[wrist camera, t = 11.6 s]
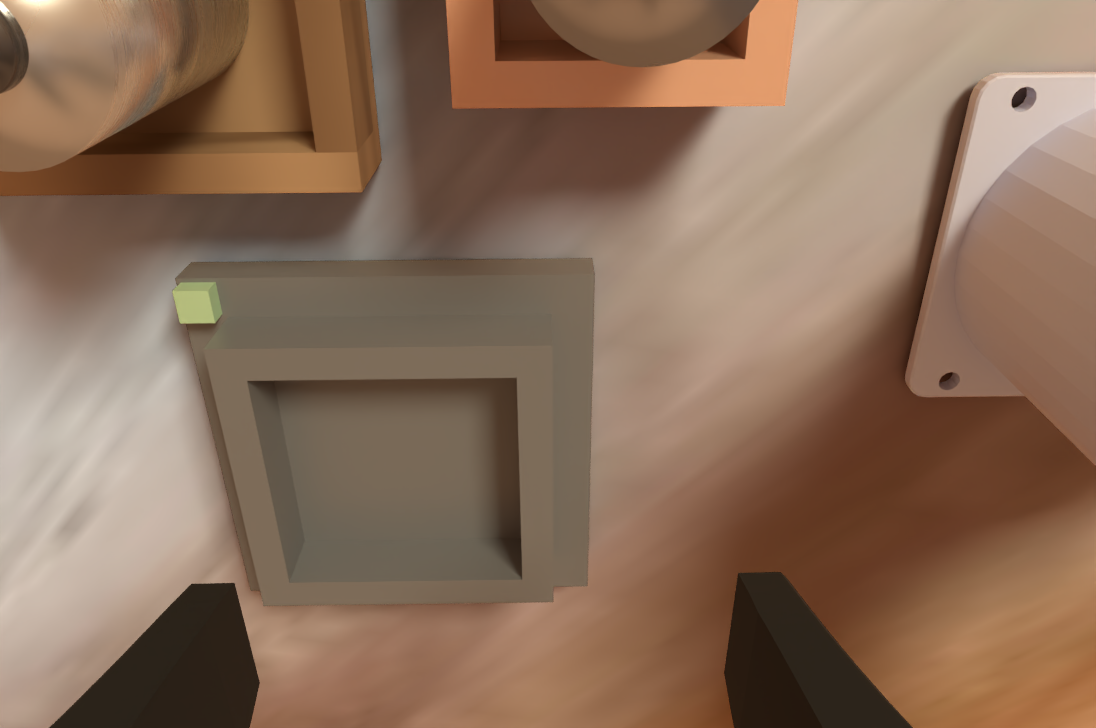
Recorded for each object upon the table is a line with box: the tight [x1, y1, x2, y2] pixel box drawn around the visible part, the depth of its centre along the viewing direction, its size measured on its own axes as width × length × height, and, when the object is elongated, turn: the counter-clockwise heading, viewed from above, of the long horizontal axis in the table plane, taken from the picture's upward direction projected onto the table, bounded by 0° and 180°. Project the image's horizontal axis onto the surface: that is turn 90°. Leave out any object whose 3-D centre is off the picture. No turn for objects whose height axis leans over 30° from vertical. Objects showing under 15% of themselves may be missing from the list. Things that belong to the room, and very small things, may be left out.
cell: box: [0, 0, 249, 172], centre depth 13 cm, size 4×4×6 cm
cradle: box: [172, 258, 595, 606], centre depth 21 cm, size 10×10×3 cm
